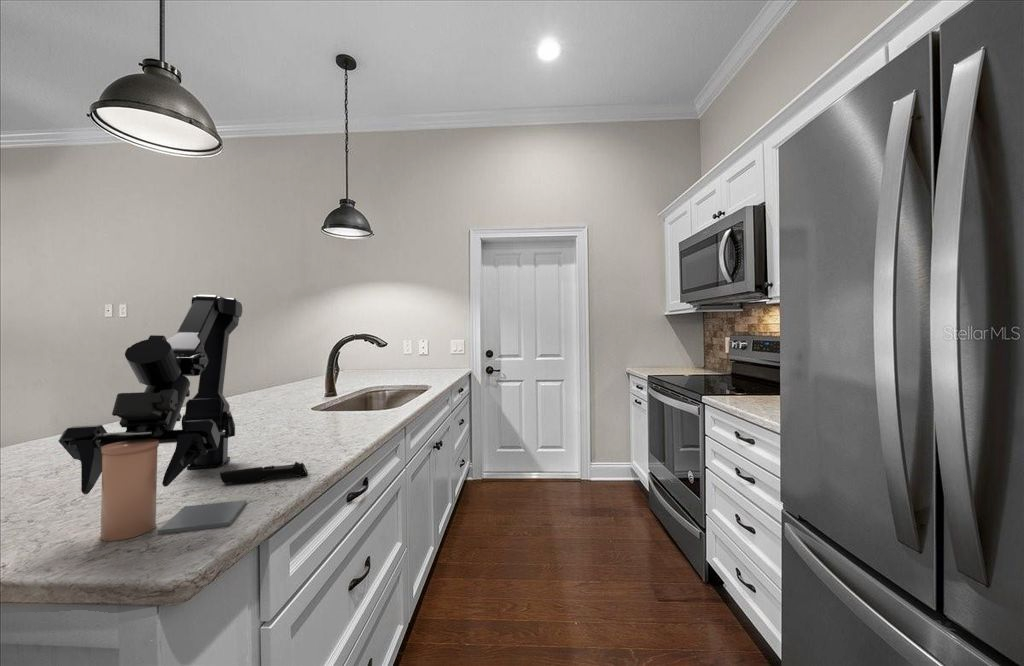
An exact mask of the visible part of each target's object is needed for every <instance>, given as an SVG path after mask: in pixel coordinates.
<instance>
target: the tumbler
mask: <svg viewBox="0 0 1024 666" xmlns="http://www.w3.org/2000/svg"><path fill="white" fill-rule="evenodd" d="M159 445H160V444H159V440H157V439H138V440H129V441H122V442H116V443H112V444H108V445H105V446H102V447H101V454H102V473H101V497H100V498H101V503H100V538H101V539H100V540H101V541H103V540H104V542H117V541H123V540H127V539H132V538H136V537H138V536H141V535H144V534H146V533H148V532H150V531H151V530H153V529H154V528H156V525H157V495H158V494H157V491H158V490H157V486H158V485H157V483H158V448H159Z"/></svg>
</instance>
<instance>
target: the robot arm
mask: <svg viewBox="0 0 1024 666" xmlns="http://www.w3.org/2000/svg"><path fill="white" fill-rule="evenodd" d="M190 303H191V306H190V308H189V309H188V311H187V313H186V315H185V317H184V318H183V320H182V322H181V324H180V326H179V329H178V330H177V332H176V333H175V334H174V335H173V336H171V337H169V338H166V336H165V335H162V334H158V335H157V334H154V335H153V334H152V335H151V334H150V335H149V336H148V338H147V339H144V340H141V341H138V342H135V343H134V344H131V346H129V347H127V348H126V350H125V352H124V357H125V359H126V360H127V363H128V364H129V366H130V368H131V370H132V372H133V374H134V375H135V377H136V379H137V381H138V383H139V384H142V385H145V386H146V387H145V389H144V392H121V393H117V394H116V398H115V402H114V406H113V410H112V412H111V415H112V416H114V417H115V416H117V418H118V417H119V418H120V421H119V425H120V427H121V428H125V429H126V430H125V431H120V432H108V431H107V430H106V428H105V427H104V426H103V425H102V424H95V425H74V426H73V425H72V426H71V427H67V428H66V429H65V430H64V431H63V432H62V434H61V435H60V437H59V439H58V443H59V444H60V445H61V446H62V447H63V448H64V450H65V451H66V452H67V453H68V454H69V456H71V458H72V459H73V460H77V461H80V465H81V468H80V469H81V470H80V471H81V475H80V476H81V477H80V478H81V479H80V482H81V490H80V491H81V493H82V494H83V495H88V494H89V493H90V492H91V491H92V490H93V488H94V487H95V485H96V483H97V482H98V480H99V478H100V476H101V475H102V454H101V447H102V446H105V445H108V444H112V443H116V442H122V441H129V440H138V439H157V440H159V445H161V444H176V445H175V449H174V452H173V455H172V457H171V459H170V461H169V464H168V466H167V467H166V470H165V473H164V475H163V479H162V483H161V484H162V486H163V487H165V488H166V487H168V486H169V485H170V484H171V483H172V482H173V481H174V480H175V479H176V478H177V477H178V476H179V475H180V474H181V473H182V472H183V471H184V470H185V469H186V470H192V469H194V470H195V469H206V467H209V468H217V466H220V467H222V466H223V465H225V464H226V463H227V462H228V461H230V460H231V456H229V455H228V454H229V453H228V452H229V449H228V448H229V438H231V437H235V436H236V424H235V420H234V417H233V414H232V412H231V410H230V404H229V402H228V400H227V399H226V398H225V396H224V386H225V385H224V384H225V383H224V382H225V375H226V367H227V366H226V365H227V357H228V356H227V355H228V350H229V338H230V335H231V333H232V332H233V331H234V330H235V329H236V328H237V327H238V326H239V322H240V321H239V320H240V318H241V317H242V314H243V306H242V305H243V304H242V303H241V302H239V301H238V300H237V298H235V297H222V296H219V295H218V294H217V295H215V294H197V295H192V298H191V302H190ZM198 376H199V380H198V388H197V393H196V394H195V395H194V396H193V398H191V399H190V398H189V399H188V400H187V401H186V403H185V410H184V411H185V412H184V413H183V415H182V414H181V410H182V408H183V404H184V402H185V400H186V398H188V397H190V395H191V394H190V392H191V391H190V386H191V381H190V380H189V378H188V377H198ZM177 422H181V429H175V426H176V423H177ZM227 460H228V461H227ZM226 461H227V462H226ZM225 462H226V463H225ZM224 463H225V464H224Z"/></svg>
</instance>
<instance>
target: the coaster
mask: <svg viewBox="0 0 1024 666" xmlns="http://www.w3.org/2000/svg"><path fill="white" fill-rule="evenodd" d="M247 503H248V501H247V499H244V500H243V499H242V500H233V501H226V502H225V501H224V502H213V503H204V504H203V503H202V504H194V505H193V504H192V505H185V506H184V507H182V508H181V509H180V510H178V512H176V513H175V515H173V516H172V517H171V518H170V519H169V520H168V521H166V522H165V523H164V524H162V526H161V527H160V528H159V529H157V535H165V534H174V533H180V532H190V531H198V530H205V529H206V530H207V529H214V528H215V529H216V528H223V527H230V526H231V524H232V523H233V522H234V520H236V518H237V517H238V516H239V515H240V513H241V511H242V510H243V508H245V506H246V505H247Z"/></svg>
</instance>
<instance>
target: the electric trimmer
mask: <svg viewBox="0 0 1024 666" xmlns="http://www.w3.org/2000/svg"><path fill="white" fill-rule="evenodd" d="M307 476H308V469H307V468H306V466H305V464H304V462H301V463H300V462H297V461H295V462H294V463H292V464H286V465H277V466H276V465H270V466H258V467H250V468H249V467H248V468H242V469H235V470H225V471H220V472H219V477H220V479H221V482H222V483H223V484H239V483H260V482H262V481H265V480H274V479H284V478H285V479H286V478H296V477H300V478H305V477H307Z"/></svg>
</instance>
